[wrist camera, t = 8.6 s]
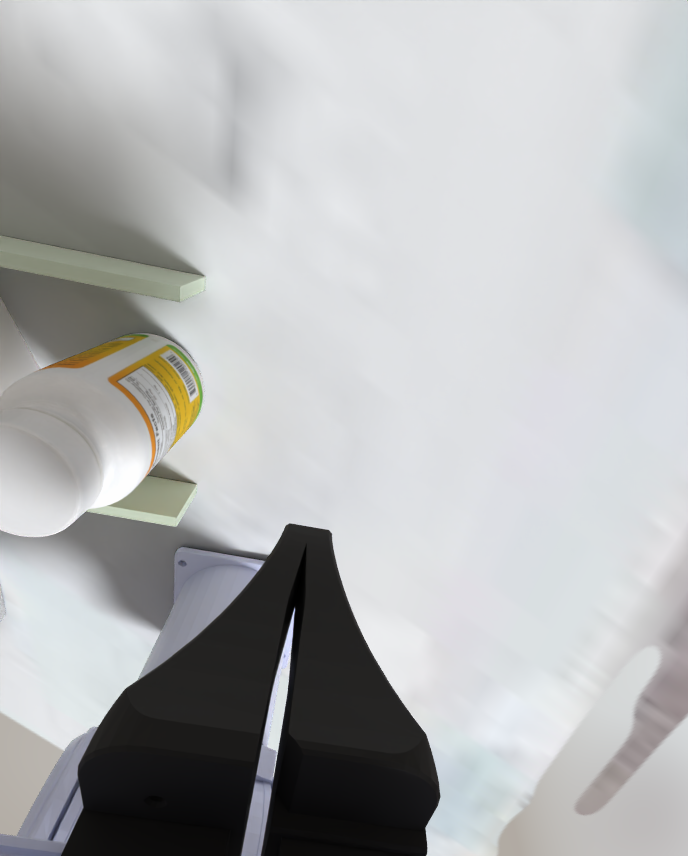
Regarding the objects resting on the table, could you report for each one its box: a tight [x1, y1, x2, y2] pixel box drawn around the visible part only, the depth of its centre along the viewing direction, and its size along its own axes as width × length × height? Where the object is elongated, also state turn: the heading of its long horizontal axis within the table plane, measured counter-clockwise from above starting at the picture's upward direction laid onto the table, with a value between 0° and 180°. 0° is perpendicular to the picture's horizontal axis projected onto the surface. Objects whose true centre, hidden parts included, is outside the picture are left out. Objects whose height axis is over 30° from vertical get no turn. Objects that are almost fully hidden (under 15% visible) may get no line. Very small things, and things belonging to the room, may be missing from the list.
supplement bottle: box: [0, 333, 205, 537], centre depth 17 cm, size 5×5×10 cm
